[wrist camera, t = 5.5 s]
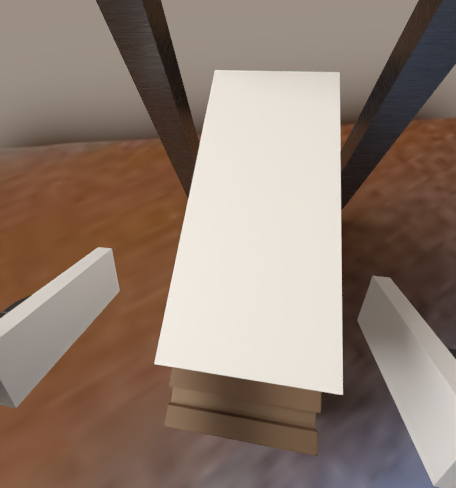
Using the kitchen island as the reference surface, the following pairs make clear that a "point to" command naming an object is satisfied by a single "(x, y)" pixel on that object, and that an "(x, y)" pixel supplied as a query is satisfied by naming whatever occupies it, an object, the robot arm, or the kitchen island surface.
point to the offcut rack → (367, 125)
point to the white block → (262, 236)
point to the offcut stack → (244, 410)
